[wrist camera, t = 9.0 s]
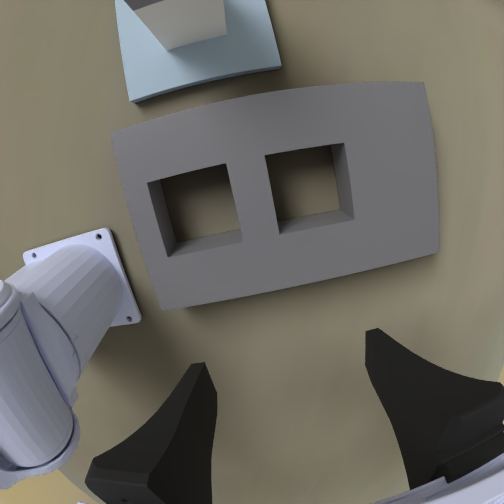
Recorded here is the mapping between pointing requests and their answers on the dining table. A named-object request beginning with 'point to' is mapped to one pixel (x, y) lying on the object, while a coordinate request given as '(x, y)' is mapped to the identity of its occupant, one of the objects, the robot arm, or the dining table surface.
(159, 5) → the plug
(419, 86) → the gray socket board
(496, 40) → the dining table surface
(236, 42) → the pad
